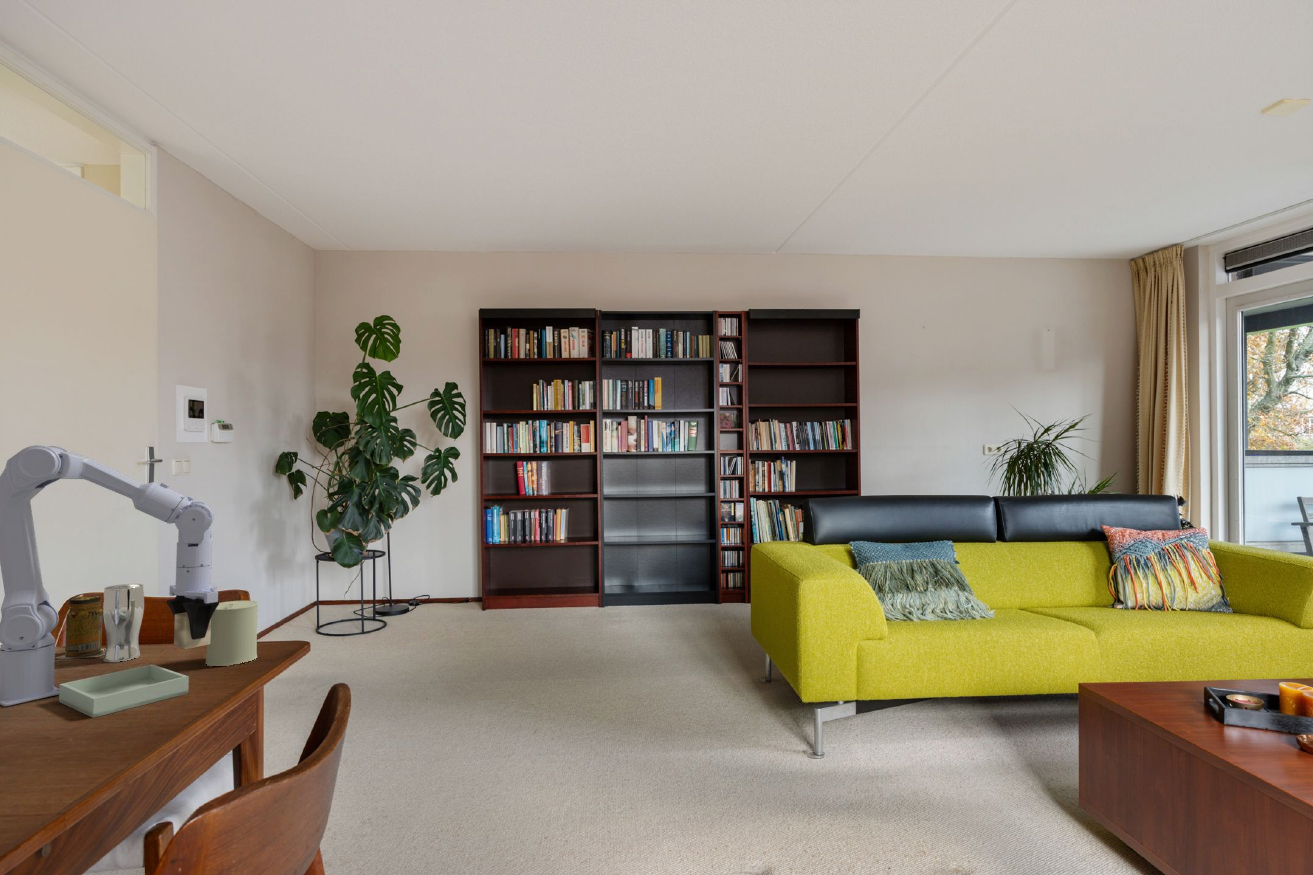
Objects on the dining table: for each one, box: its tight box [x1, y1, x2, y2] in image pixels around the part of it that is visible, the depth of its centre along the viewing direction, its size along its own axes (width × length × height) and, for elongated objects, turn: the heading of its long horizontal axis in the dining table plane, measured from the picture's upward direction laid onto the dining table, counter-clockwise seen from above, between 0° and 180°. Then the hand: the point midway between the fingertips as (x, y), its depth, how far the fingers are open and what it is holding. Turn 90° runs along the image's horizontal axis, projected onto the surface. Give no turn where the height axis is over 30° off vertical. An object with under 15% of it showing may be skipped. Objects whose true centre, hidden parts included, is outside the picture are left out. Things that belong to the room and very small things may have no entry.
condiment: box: [55, 595, 106, 660], centre depth 150 cm, size 7×8×12 cm
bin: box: [58, 664, 190, 718], centre depth 123 cm, size 14×14×3 cm
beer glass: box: [101, 583, 145, 663], centre depth 147 cm, size 7×7×15 cm
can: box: [205, 600, 259, 667], centre depth 146 cm, size 9×9×12 cm
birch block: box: [173, 612, 211, 650], centre depth 135 cm, size 4×4×6 cm
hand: (191, 636), depth 134 cm, fingers closed on birch block, 4 cm apart
